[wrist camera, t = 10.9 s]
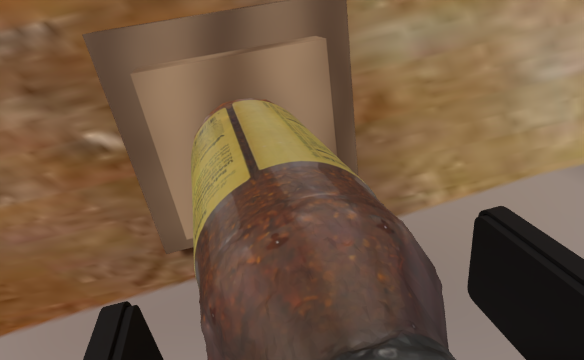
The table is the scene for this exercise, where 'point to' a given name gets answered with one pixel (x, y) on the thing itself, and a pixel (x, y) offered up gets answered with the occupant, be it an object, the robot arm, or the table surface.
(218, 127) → the sauce bottle
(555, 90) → the table surface
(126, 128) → the pedestal
